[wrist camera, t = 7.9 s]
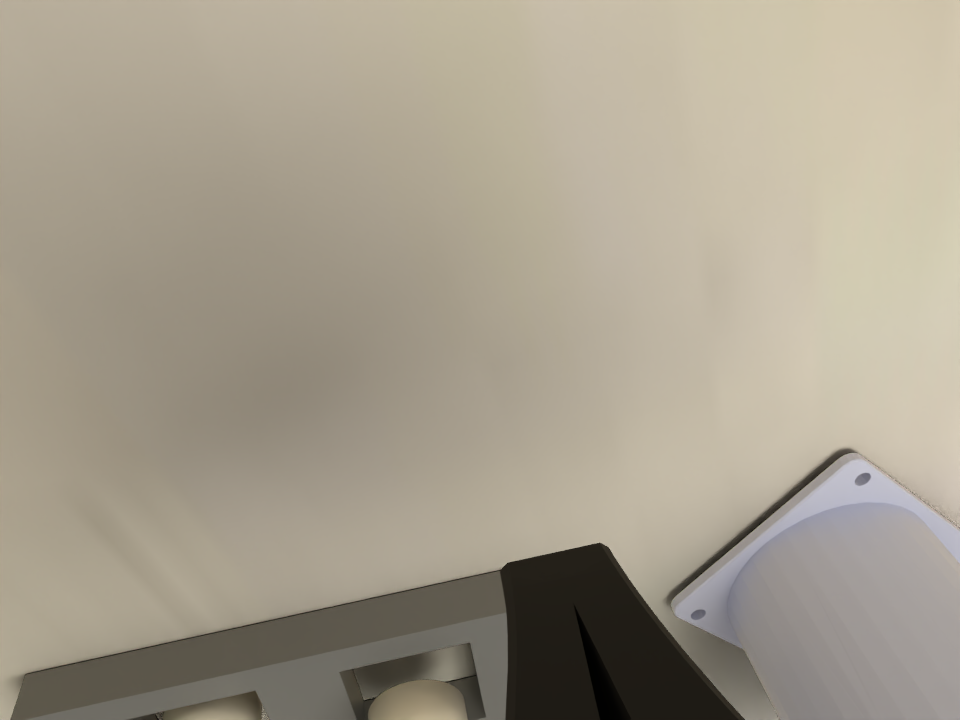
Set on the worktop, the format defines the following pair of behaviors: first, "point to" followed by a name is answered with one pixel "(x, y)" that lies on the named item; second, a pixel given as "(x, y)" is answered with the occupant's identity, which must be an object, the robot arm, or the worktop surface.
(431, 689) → the button
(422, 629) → the button board
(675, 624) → the worktop surface
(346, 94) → the worktop surface
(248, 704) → the button
